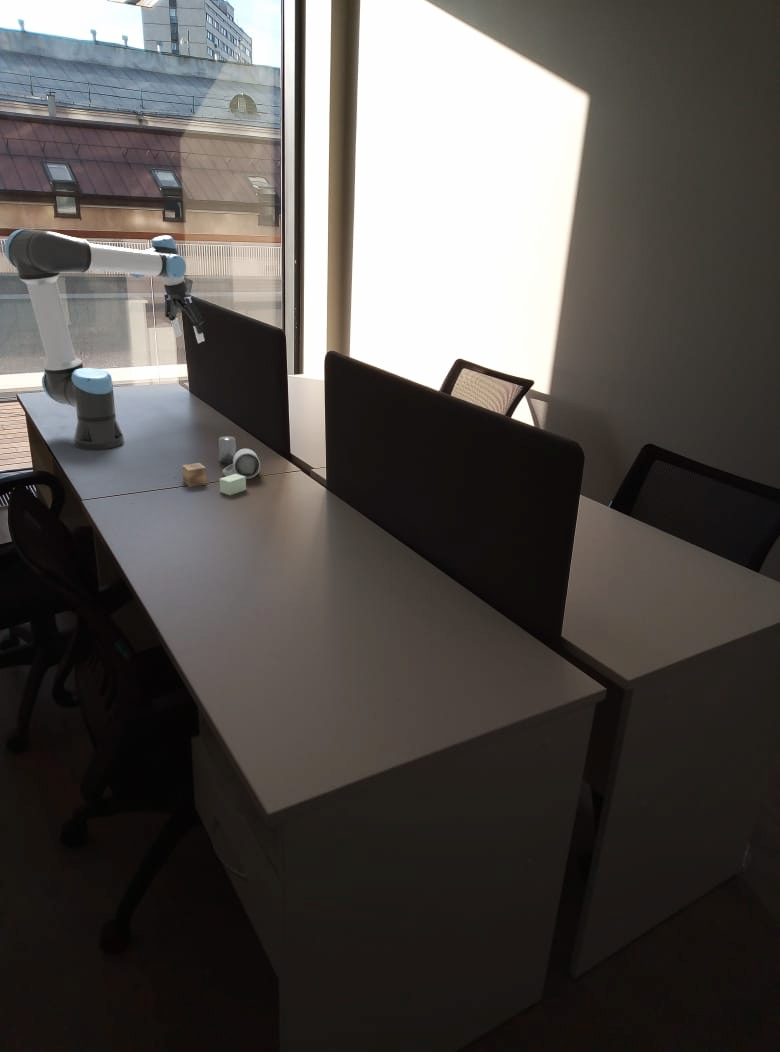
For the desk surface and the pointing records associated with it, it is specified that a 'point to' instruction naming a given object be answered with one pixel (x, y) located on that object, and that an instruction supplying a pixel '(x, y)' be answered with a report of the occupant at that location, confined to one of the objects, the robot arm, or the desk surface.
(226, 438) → the dark metal cylinder
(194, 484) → the walnut block
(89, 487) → the desk surface
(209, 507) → the desk surface
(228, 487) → the sage green block
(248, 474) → the ceramic mug
